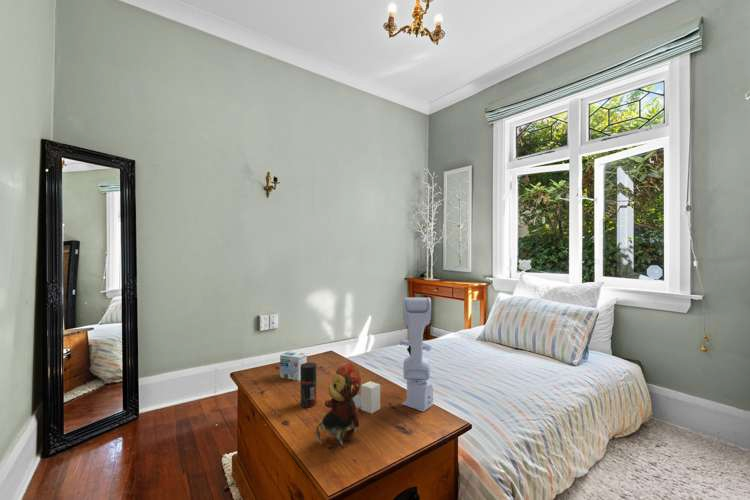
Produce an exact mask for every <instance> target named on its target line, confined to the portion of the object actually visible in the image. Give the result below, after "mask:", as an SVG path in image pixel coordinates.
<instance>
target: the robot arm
mask: <svg viewBox="0 0 750 500" xmlns="http://www.w3.org/2000/svg"><path fill="white" fill-rule="evenodd" d="M402 317H403V318H402V319H403V323H404V324H405V325H406V326H407V327H408V329H407V330H408V332H407V333H408V334H407V337H408V339H400V340H399V345H401V346H407V348H406V350H407V353H408V354H409V356H408V357H406V358H404V360H403V367H402V368H403V369H402V370H403V380H406V400H405V401H404V402H402V404H401V405H403V406H406V407H408V408H412V409H415V410H417V411H420V412H425V411H426V410H428V409H429V408H431V407H432V406H434V405H435V403H434V400H433V399H434V388H433V385H432V384H430V383H428V382H427V381H429V380H430V378H431V377H430V372H431V371H430V362H429V359H428V358H426V357H424V356H423V350H424V351H427V352H430V351H432V345H430V344H428V343H425V342H424V341H423V340H424V331H425V328H426V327H427V326H428V325H430V323H431V319H432V299H431V297H429V296H427V297H406V296H404V297H403V298H402Z"/></svg>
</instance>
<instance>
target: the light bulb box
mask: <svg viewBox="0 0 750 500" xmlns="http://www.w3.org/2000/svg"><path fill="white" fill-rule="evenodd" d="M307 356H308V355H307V353H305V352H298V351H290V350H289V351H286V352H284V353H282V354H280V355H279V359H280V360H279V366H280V367H279V378H280V377H281V379H285V378H287V380H290V379H292V381H296V380H297V381H296V382H300V381H301V364H304V363H308V362H307V358H308V357H307Z"/></svg>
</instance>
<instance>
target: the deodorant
mask: <svg viewBox="0 0 750 500" xmlns="http://www.w3.org/2000/svg"><path fill="white" fill-rule="evenodd" d="M317 402H318V401H317V363H315V362H307V363H304V364H301V380H300V407H302V408H304V409H305V408H306V409H311V408H314V407H315V406H317Z"/></svg>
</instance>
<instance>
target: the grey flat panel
mask: <svg viewBox="0 0 750 500" xmlns="http://www.w3.org/2000/svg"><path fill="white" fill-rule="evenodd" d="M353 400H354V402H355V406H357V408H358V410H360V409H361V394H357V395H356V396H355V397H354V398H353Z"/></svg>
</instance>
